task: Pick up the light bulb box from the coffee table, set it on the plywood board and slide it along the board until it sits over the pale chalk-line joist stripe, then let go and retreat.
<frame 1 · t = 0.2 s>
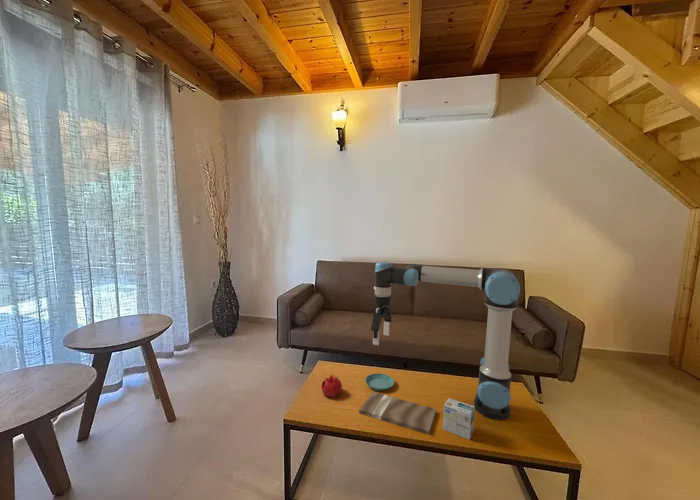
hand: (381, 339, 145), 28 cm above the table, fingers open, 13 cm apart
light bulb box: (457, 430, 124), on the table
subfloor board: (397, 412, 134), on the table
pomegranate: (331, 393, 149), on the table
saucer: (379, 385, 157), on the table
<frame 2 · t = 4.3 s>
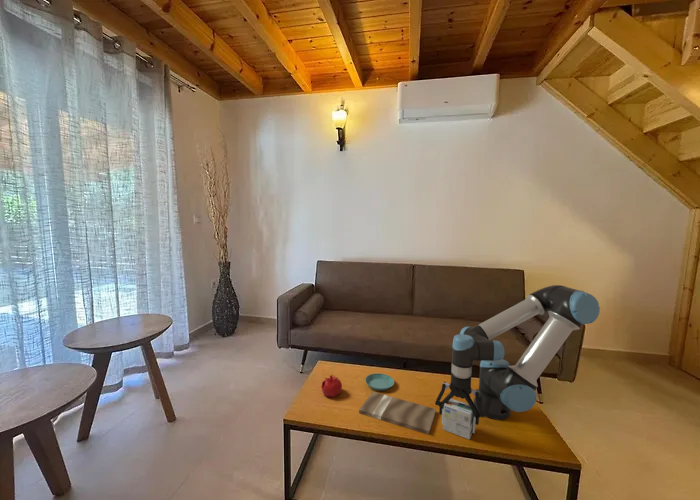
hand: (458, 426, 124), 2 cm above the table, fingers closed on light bulb box, 11 cm apart
light bulb box: (457, 430, 124), on the table, touching gripper
everything else where it was.
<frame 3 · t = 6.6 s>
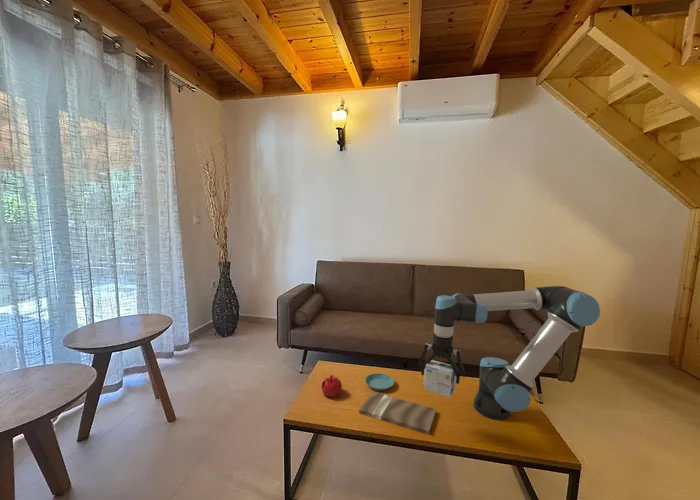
hand: (439, 386, 125), 17 cm above the table, fingers closed on light bulb box, 11 cm apart
light bulb box: (439, 390, 126), point 15 cm above the table, touching gripper
everything else where it was.
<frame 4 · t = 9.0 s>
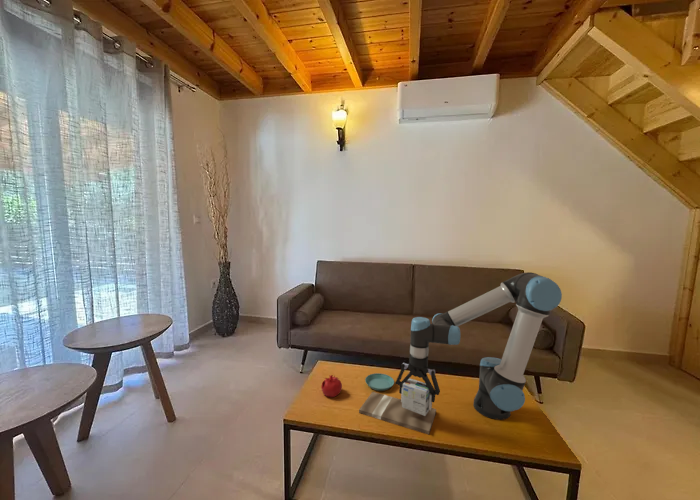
hand: (416, 404, 131), 6 cm above the table, fingers closed on light bulb box, 11 cm apart
light bulb box: (416, 408, 131), point 4 cm above the table, touching gripper
everything else where it was.
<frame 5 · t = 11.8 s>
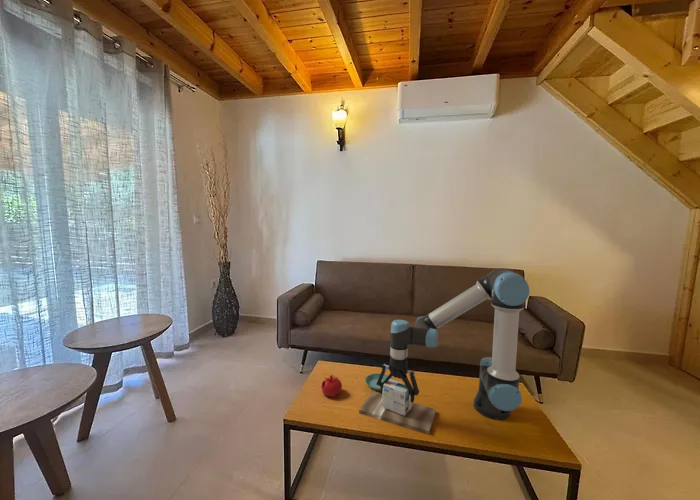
hand: (396, 404, 134), 3 cm above the table, fingers closed on light bulb box, 11 cm apart
light bulb box: (396, 408, 135), point 2 cm above the table, touching gripper
everything else where it was.
when the fingers open (3 cm above the table, at t = 14.0 s): light bulb box stays where it is, resting on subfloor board.
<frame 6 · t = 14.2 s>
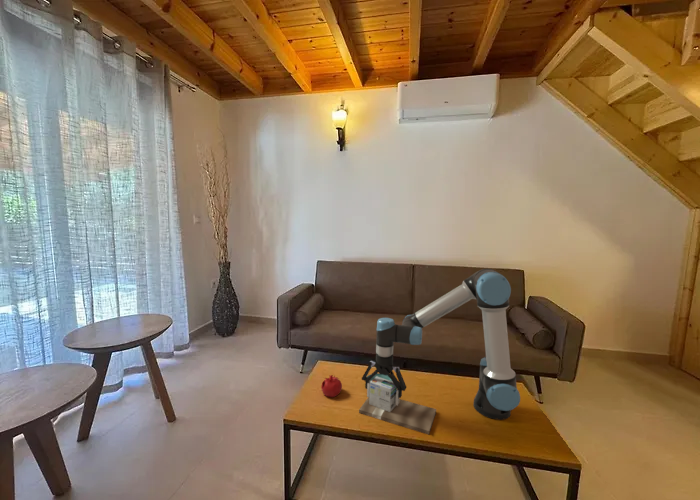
hand: (382, 399, 137), 4 cm above the table, fingers open, 13 cm apart
light bulb box: (382, 405, 137), point 1 cm above the table, touching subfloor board
everything else where it was.
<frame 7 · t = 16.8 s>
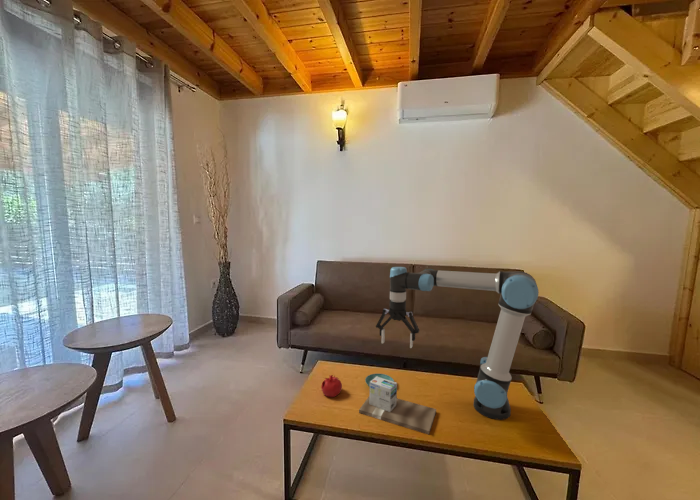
hand: (396, 344, 145), 26 cm above the table, fingers open, 13 cm apart
nothing on the table moved.
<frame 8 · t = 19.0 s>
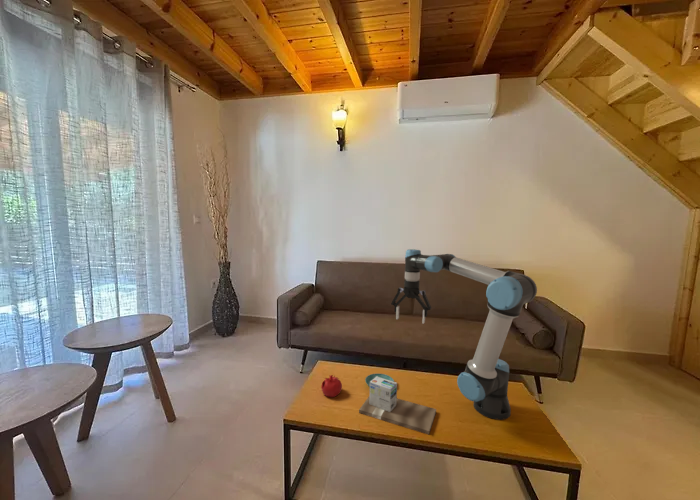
hand: (410, 320, 158), 33 cm above the table, fingers open, 13 cm apart
nothing on the table moved.
at the end: light bulb box 0.0 cm from the target spot, point 1.3 cm above the table; light bulb box tilted 0°; the gripper is holding nothing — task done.
